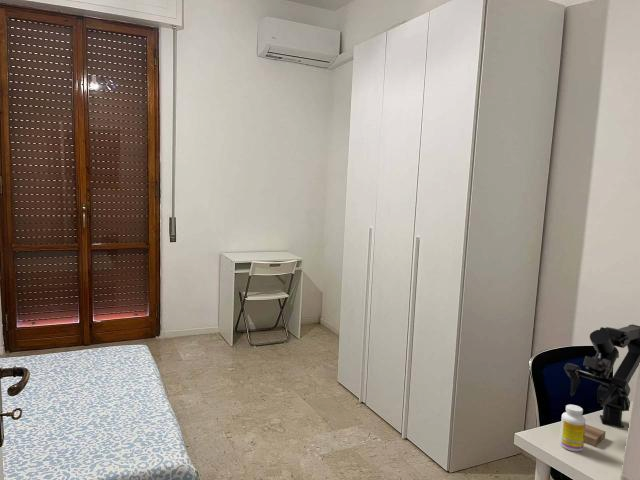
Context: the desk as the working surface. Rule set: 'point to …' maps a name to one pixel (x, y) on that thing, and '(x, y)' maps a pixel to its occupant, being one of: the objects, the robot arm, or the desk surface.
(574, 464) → the desk surface
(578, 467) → the desk surface
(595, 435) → the walnut plinth
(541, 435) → the desk surface
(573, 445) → the supplement bottle
